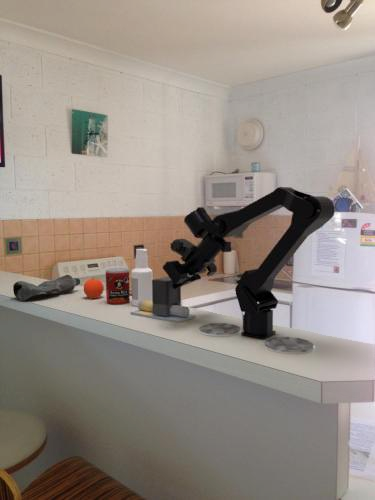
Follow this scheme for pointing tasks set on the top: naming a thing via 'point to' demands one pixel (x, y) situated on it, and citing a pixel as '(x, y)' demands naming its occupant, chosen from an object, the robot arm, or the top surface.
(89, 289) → the clementine
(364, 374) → the top surface
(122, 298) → the canned food
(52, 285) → the crushed bottle
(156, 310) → the sleeve
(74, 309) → the top surface
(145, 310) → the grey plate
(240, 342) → the top surface
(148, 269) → the spray bottle
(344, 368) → the top surface
